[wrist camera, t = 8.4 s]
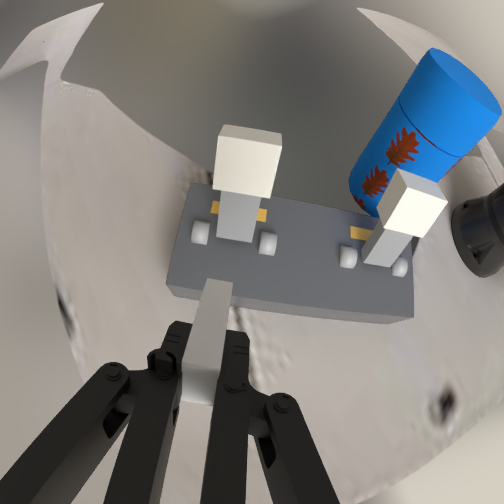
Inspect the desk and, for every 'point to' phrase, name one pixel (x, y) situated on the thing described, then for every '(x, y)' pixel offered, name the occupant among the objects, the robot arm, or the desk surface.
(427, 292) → the desk surface
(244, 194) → the outer lever
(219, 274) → the switch box
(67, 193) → the desk surface
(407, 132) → the thermos
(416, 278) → the desk surface
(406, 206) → the inner lever
